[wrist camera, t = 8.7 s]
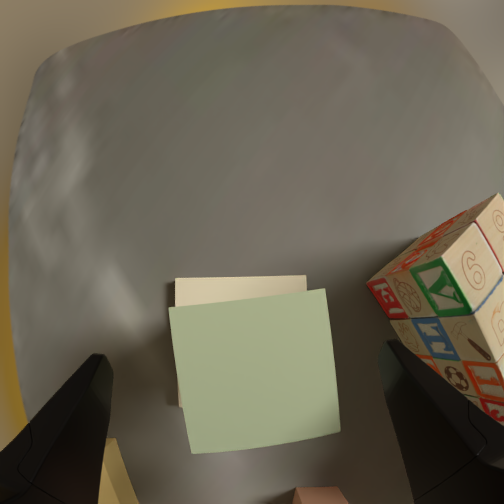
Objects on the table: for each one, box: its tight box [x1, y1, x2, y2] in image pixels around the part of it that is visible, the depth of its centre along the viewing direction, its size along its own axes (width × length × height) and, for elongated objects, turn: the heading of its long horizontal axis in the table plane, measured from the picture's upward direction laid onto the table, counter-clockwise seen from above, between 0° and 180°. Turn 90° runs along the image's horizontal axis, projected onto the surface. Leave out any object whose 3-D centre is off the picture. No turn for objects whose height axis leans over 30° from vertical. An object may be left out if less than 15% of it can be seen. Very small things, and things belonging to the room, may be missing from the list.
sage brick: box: [168, 288, 341, 454], centre depth 13 cm, size 4×4×10 cm
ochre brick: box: [98, 438, 139, 504], centre depth 15 cm, size 6×3×3 cm, turn 12°
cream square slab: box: [175, 275, 307, 407], centre depth 19 cm, size 8×8×2 cm
